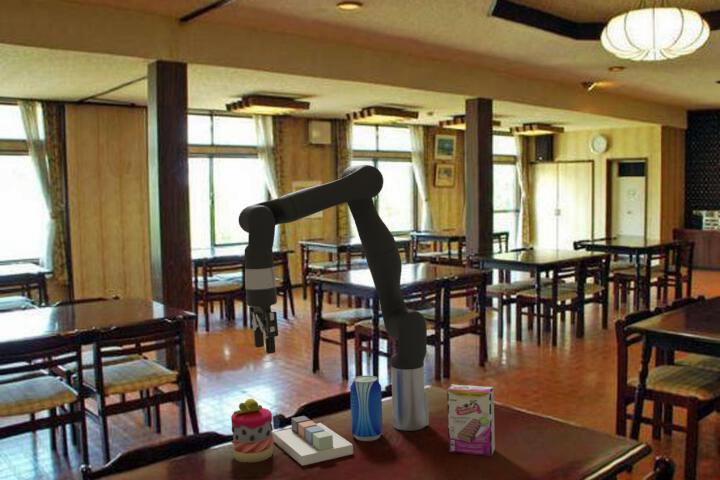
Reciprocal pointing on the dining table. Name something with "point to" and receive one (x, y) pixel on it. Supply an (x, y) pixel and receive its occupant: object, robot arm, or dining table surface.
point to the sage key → (322, 440)
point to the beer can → (366, 408)
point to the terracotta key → (302, 428)
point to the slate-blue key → (310, 432)
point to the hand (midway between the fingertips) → (265, 349)
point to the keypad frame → (311, 447)
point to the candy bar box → (471, 419)
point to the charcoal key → (298, 420)
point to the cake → (252, 432)
